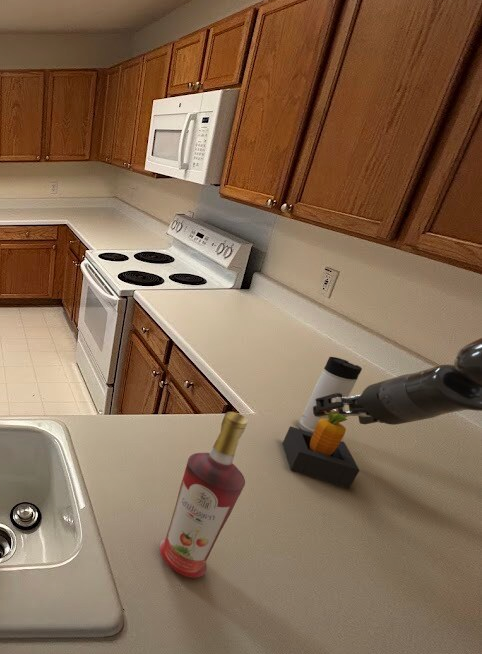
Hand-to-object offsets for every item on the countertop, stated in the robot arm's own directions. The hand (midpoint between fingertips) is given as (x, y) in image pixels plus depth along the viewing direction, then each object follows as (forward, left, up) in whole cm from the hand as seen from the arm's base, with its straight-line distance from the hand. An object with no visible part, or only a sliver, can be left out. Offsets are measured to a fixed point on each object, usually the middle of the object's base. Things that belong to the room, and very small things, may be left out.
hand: (337, 415), depth 86 cm
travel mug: (-3, -16, -13) cm, 21 cm away
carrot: (0, 0, -13) cm, 13 cm away
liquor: (+26, +42, -13) cm, 51 cm away
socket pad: (0, 0, -13) cm, 13 cm away
